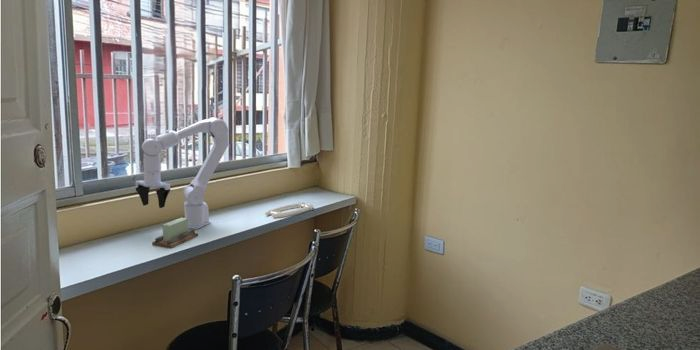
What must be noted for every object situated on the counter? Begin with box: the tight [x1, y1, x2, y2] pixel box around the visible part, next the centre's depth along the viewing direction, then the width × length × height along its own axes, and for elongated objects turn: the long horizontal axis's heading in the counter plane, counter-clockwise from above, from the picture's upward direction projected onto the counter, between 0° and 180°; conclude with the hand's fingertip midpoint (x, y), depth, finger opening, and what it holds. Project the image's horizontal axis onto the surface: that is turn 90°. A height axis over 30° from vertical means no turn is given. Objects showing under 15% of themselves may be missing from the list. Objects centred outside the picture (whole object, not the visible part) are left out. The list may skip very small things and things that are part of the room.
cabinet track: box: [151, 228, 199, 249], centre depth 177 cm, size 15×8×2 cm, turn 161°
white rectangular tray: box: [264, 201, 314, 219], centre depth 220 cm, size 3×10×25 cm
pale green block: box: [162, 217, 189, 242], centre depth 177 cm, size 10×3×6 cm, turn 161°
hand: (153, 206), depth 187 cm, fingers open, 7 cm apart
